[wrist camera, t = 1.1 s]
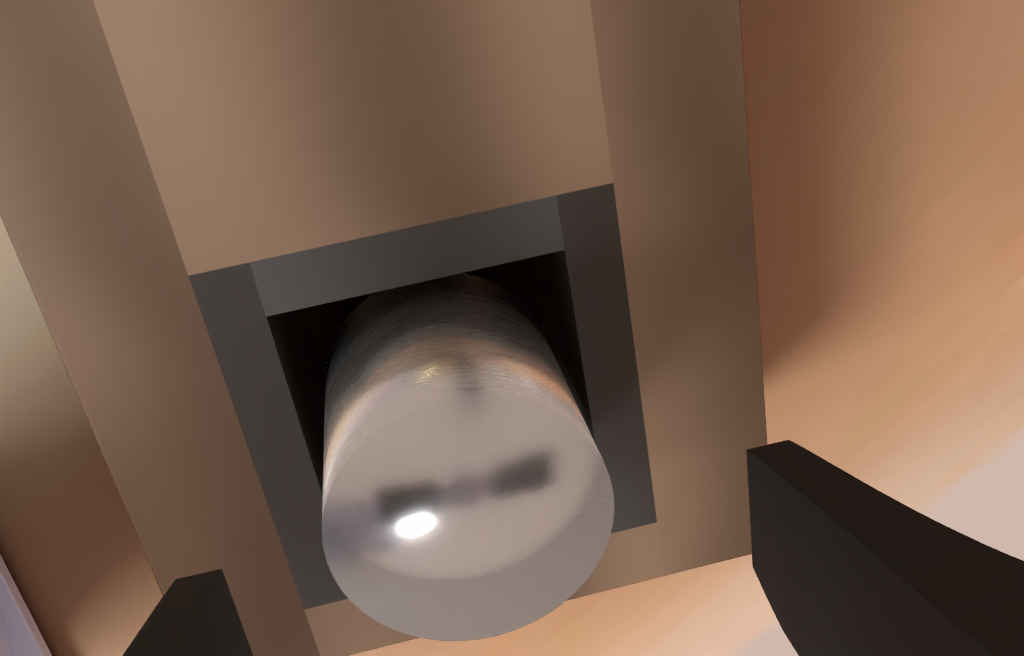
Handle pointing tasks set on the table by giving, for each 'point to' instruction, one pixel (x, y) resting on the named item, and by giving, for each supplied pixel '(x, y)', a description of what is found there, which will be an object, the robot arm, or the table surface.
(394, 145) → the peg board
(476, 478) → the steel peg
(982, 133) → the table surface
